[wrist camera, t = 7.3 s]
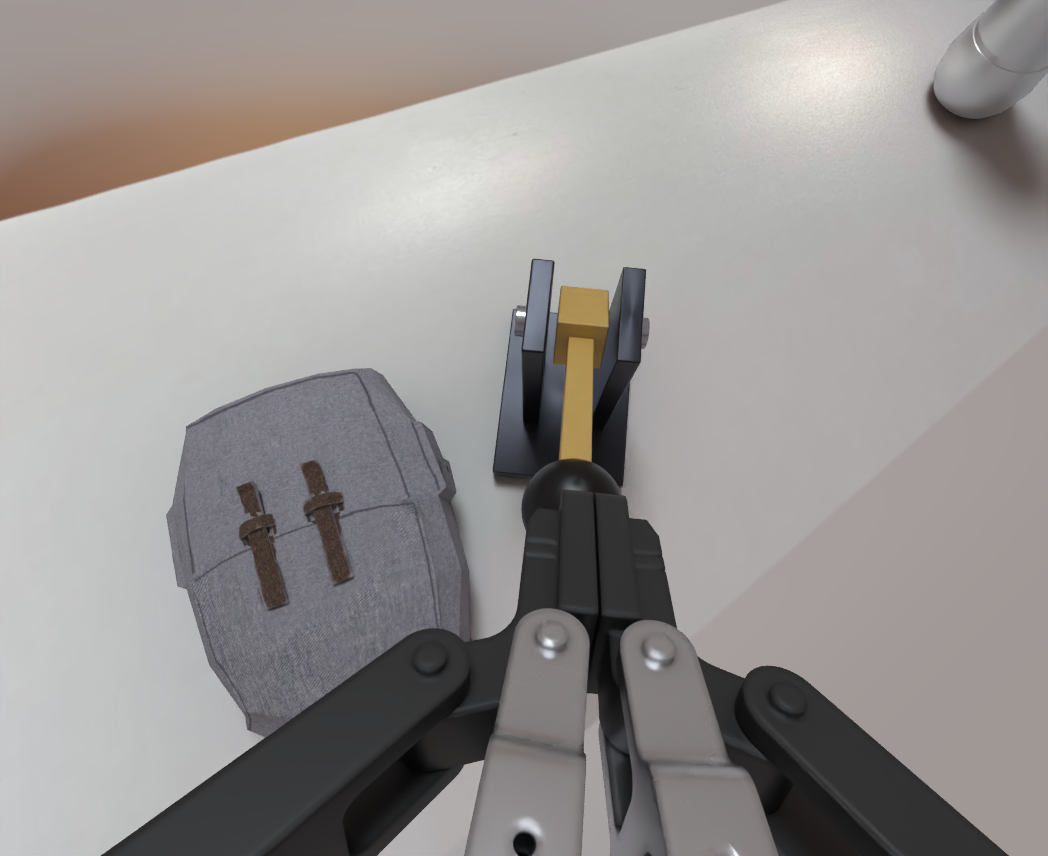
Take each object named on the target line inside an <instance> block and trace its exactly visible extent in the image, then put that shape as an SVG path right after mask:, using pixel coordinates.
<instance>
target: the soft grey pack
mask: <svg viewBox="0 0 1048 856" xmlns="http://www.w3.org/2000/svg"><path fill="white" fill-rule="evenodd" d="M455 494H456V488H455V484H454V480H453V476H452V472H451V467H450V464H449V462H448V461H447V460H445V459H444V458H443V457H442V455H441V452H440V450H439V447H438V445H437V442H436V440H435V437H434V435H433V432H432V431H431V430H430V429H429V428H428V427H426V426H425V425H424V424H423V423H421V422H418V421H416V420H415V419H414V417H413V416H412V414H411V413H410V412H409V410H408V409H407V408H406V406H405V405H404V403H403V402H402V401H401V399H400V398H399V397H398V395H397V394H396V393H395V391H394V390H393V388H392V387H391V386H390V384H389V383H388V382H387V380H386V379H385V377H384V376H383V375H382V374H380V373H378V372H376V371H375V370H373V369H371V368H366V369H350V370H343V371H336V372H328V373H321V374H316V375H312V376H309V377H305V378H301V379H298V380H294V381H290V382H287V383H283V384H280V385H276V386H272V387H269V388H265V389H263V390H260V391H258V392H255V393H253V394H251V395H248V396H246V397H243V398H241V399H238V400H236V401H234V402H231V403H229V404H226V405H224V406H221V407H219V408H217V409H215V410H213V411H211V412H210V413H208V414H206V415H205V416H203V417H201V418H200V419H198V420H196V421H195V422H193V423H191V424H190V425H188V426H186V435H185V441H184V446H183V451H182V457H181V462H180V467H179V472H178V478H177V483H176V488H175V494H174V499H173V504H172V507H171V508H170V510H169V511H168V513H167V514H166V517H167V523H168V529H169V535H170V542H171V548H172V556H173V562H174V568H175V574H176V580H177V585H178V587H182V588H185V589H187V591H188V595H189V598H190V602H191V605H192V608H193V612H194V615H195V618H196V622H197V625H198V628H199V632H200V635H201V639H202V642H203V645H204V649H205V652H206V655H207V659H208V662H209V665H210V667H211V668H212V669H213V671H214V672H215V674H216V675H217V677H218V678H219V679H220V681H221V682H222V684H223V685H224V686H225V688H226V689H227V691H228V692H229V693H230V695H231V696H232V698H233V699H234V701H235V702H236V703H237V705H238V706H239V708H240V709H241V710H242V712H243V713H244V715H245V717H246V724H247V730H249V731H252V732H254V733H257V734H259V735H262V736H264V737H267V736H268V735H270V734H271V733H273V732H274V731H275V730H277V729H278V728H280V727H281V726H282V725H284V724H285V723H287V722H288V721H289V720H291V719H292V718H294V717H295V716H296V715H298V714H299V713H300V712H302V711H303V710H305V709H306V708H307V707H309V706H310V705H312V704H313V703H314V702H316V701H317V700H319V699H320V698H321V697H323V696H324V695H326V694H327V693H328V692H330V691H331V690H333V689H334V688H335V687H337V686H338V685H339V684H341V683H342V682H344V681H345V680H346V679H348V678H349V677H351V676H352V675H353V674H355V673H356V672H358V671H359V670H360V669H362V668H363V667H365V666H366V665H367V664H369V663H370V662H372V661H373V660H374V659H376V658H377V657H378V656H380V655H381V654H383V653H384V652H385V651H387V650H388V649H390V648H391V647H392V646H394V645H395V644H397V643H398V642H399V641H401V640H402V639H404V638H405V637H406V636H408V635H410V634H411V633H414V632H416V631H419V630H422V629H428V628H439V629H445V630H448V631H450V632H452V633H454V634H456V635H457V636H459V637H460V638H461V639H462V640H463V641H464V642H469V641H472V640H471V638H470V605H469V569H468V565H467V562H466V558H465V554H464V551H463V547H462V543H461V540H460V536H459V532H458V529H457V525H456V522H455V518H454V514H453V511H452V507H451V503H450V500H451V499H452V498H453V496H454V495H455Z"/></svg>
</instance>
